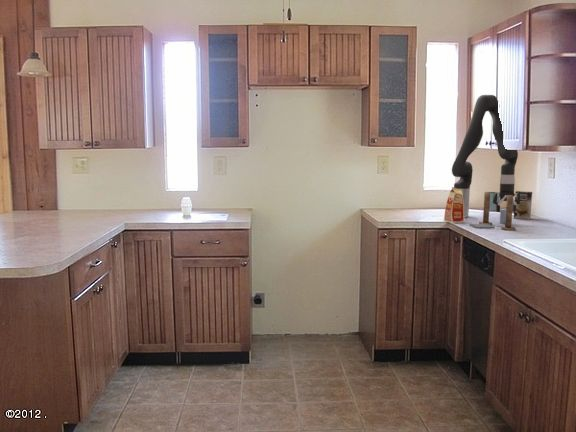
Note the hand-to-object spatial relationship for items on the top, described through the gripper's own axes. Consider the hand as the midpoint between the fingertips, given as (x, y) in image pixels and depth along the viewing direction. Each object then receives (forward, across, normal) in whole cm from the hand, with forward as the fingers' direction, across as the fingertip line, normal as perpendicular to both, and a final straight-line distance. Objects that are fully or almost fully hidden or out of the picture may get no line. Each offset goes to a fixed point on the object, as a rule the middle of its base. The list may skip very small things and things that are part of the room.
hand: (505, 211), depth 314 cm
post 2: (+7, +6, +18) cm, 21 cm away
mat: (+7, +17, +10) cm, 21 cm away
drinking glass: (+6, -13, -54) cm, 55 cm away
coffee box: (+7, -18, -20) cm, 27 cm away
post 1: (+7, +12, +2) cm, 14 cm away
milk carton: (+7, +26, -8) cm, 28 cm away
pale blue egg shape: (+7, 0, -1) cm, 7 cm away
